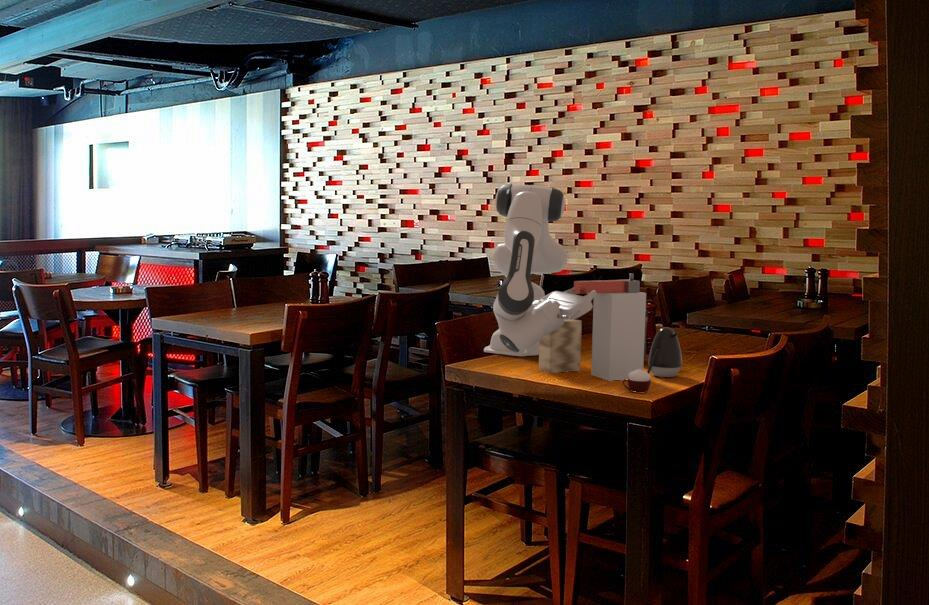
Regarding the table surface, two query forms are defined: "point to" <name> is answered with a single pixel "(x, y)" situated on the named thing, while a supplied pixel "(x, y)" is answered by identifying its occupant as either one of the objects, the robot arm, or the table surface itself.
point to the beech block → (561, 348)
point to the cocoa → (640, 378)
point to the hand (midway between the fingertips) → (586, 290)
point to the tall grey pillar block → (618, 334)
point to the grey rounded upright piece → (666, 353)
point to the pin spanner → (608, 286)
